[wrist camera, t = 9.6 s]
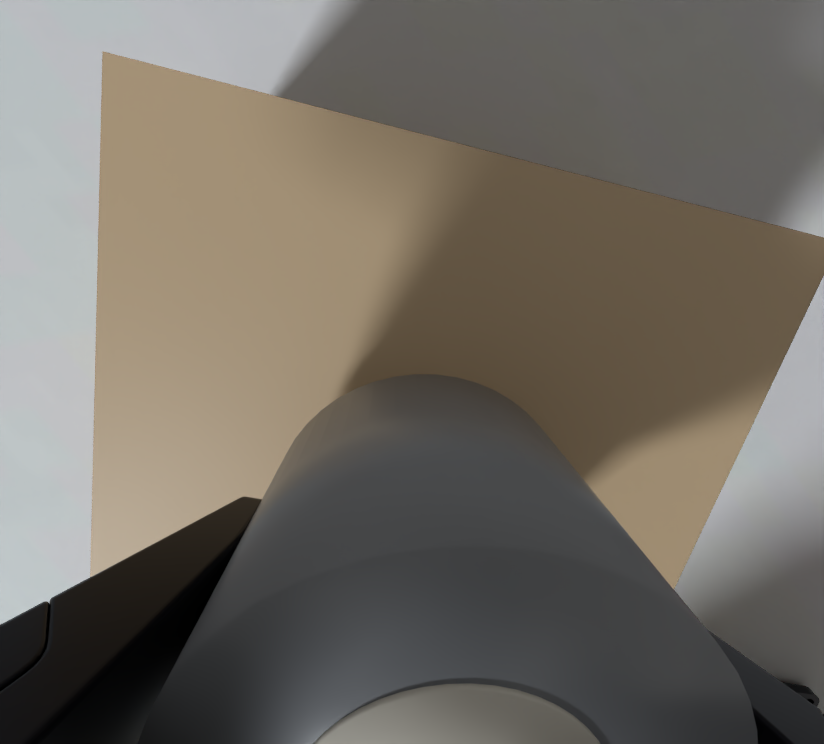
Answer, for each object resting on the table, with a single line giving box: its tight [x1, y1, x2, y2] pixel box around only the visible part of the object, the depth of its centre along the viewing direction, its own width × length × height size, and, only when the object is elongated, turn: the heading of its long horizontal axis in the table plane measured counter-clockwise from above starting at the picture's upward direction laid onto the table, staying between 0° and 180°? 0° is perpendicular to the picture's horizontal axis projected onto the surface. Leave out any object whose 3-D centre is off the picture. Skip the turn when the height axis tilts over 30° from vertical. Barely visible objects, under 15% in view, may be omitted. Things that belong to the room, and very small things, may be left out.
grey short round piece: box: [137, 374, 758, 744], centre depth 7 cm, size 6×6×5 cm
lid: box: [90, 52, 824, 589], centre depth 11 cm, size 15×14×1 cm
